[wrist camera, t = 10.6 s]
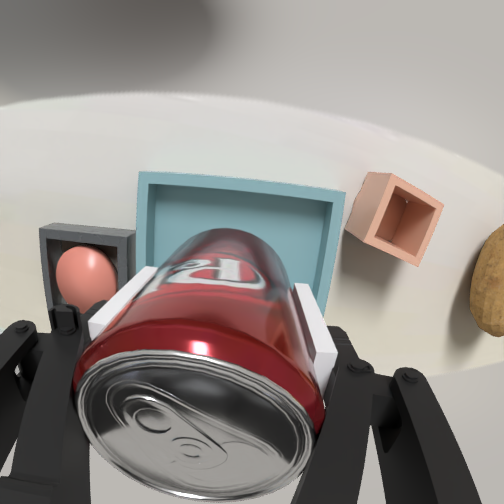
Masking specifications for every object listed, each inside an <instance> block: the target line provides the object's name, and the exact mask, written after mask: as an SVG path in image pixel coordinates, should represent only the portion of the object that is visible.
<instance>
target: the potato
mask: <svg viewBox="0 0 504 504" xmlns="http://www.w3.org/2000/svg"><path fill="white" fill-rule="evenodd" d="M470 311H471V312H472V314H473V316H474V318H475V320H476V322H477V324H478V327H479V328H481V329H482V330H484V331H485V332H487V333H489V334H490V335H492V336H495V337H501V336H504V224H503V225H502V226H501V227H499V228H498V229H497V230H495V231H494V232H493V233H492V234H491V235H490V236H489V238H488V239H487V240H486V242H485V244H484V246H483V248H482V250H481V252H480V255H479V258H478V260H477V263H476V266H475V269H474V273H473V276H472V282H471V290H470Z"/></svg>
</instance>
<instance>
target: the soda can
mask: <svg viewBox="0 0 504 504" xmlns="http://www.w3.org/2000/svg"><path fill="white" fill-rule="evenodd" d="M72 385H73V391H74V402H75V410H76V413H77V416H78V419H79V421H80V424H81V427H82V429H83V432H84V435H85V436H86V438H87V440H88V441H89V443H90V444H91V445H92V446H93V447H94V449H95V450H96V451H97V452H98V453H99V454H100V455H101V456H102V457H103V458H104V459H105V460H106V461H107V462H109V464H111V465H112V466H113V467H114V468H116V469H117V470H119V471H120V472H122V473H123V474H124V475H126V476H127V477H129V478H131V479H133V480H134V481H136V482H138V483H140V484H142V485H144V486H146V487H149V488H151V489H154V490H156V491H159V492H161V493H164V494H168V495H171V496H175V497H179V498H184V499H189V500H195V501H204V502H236V501H242V500H247V499H254V498H257V497H261V496H264V495H267V494H270V493H273V492H275V491H277V490H279V489H281V488H283V487H285V486H286V485H288V484H289V483H291V482H292V481H294V480H295V479H296V478H298V477H299V475H300V474H301V473H302V472H303V471H304V470H305V468H306V466H307V464H308V461H309V459H310V457H311V455H312V452H313V450H314V448H315V445H316V442H317V439H318V436H319V434H320V431H321V428H322V426H323V423H324V420H325V416H326V414H325V409H324V404H323V399H322V396H321V392H320V388H319V384H318V381H317V377H316V373H315V370H314V366H313V362H312V359H311V355H310V351H309V348H308V344H307V341H306V337H305V333H304V330H303V326H302V323H301V319H300V316H299V312H298V309H297V305H296V302H295V298H294V295H293V292H292V288H291V285H290V281H289V278H288V275H287V271H286V269H285V266H284V264H283V262H282V260H281V258H280V257H279V256H278V254H277V253H276V252H275V251H274V249H273V248H272V247H271V246H269V245H268V244H267V243H266V242H265V241H264V240H262V239H260V238H259V237H257V236H255V235H253V234H252V233H249V232H246V231H243V230H240V229H232V228H216V229H210V230H207V231H203V232H200V233H198V234H196V235H194V236H192V237H190V238H189V239H188V240H186V241H185V242H184V243H183V244H181V245H180V246H179V247H178V248H177V249H176V250H175V251H174V252H173V253H172V254H171V255H170V256H169V258H168V259H167V260H166V261H165V262H164V263H163V264H162V265H161V266H160V267H159V268H158V269H157V270H156V271H155V272H154V273H153V274H152V275H151V276H150V277H149V278H148V280H147V281H146V282H145V283H144V284H143V285H142V286H141V287H140V288H139V289H138V290H137V291H136V292H135V294H134V295H133V296H132V297H131V298H130V299H129V300H128V301H127V302H126V303H125V304H124V306H123V307H122V308H121V309H120V310H119V311H118V312H117V313H116V314H115V316H114V317H113V318H112V319H111V320H110V321H109V322H108V323H107V324H106V326H105V327H104V328H103V329H102V330H101V331H100V332H99V334H98V335H97V336H96V337H95V338H94V339H93V340H92V342H91V343H90V344H89V345H88V346H87V347H86V349H85V350H84V352H83V353H82V355H81V357H80V358H79V360H78V362H77V364H76V368H75V372H74V376H73V382H72Z"/></svg>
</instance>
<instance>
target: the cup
mask: <svg viewBox="0 0 504 504" xmlns="http://www.w3.org/2000/svg"><path fill="white" fill-rule="evenodd" d="M406 200H407V201H408V203H407V204H406ZM443 207H444V204H443V203H441V202H439V201H438V200H436V199H435V198H433V197H431V196H430V195H428V194H426V193H425V192H423V191H422V190H420V189H418V188H416V187H415V186H413V185H411V184H410V183H408V182H406V181H404V180H403V179H401V178H399V177H397V176H396V175H394V174H392V173H376V172H368V173H367V176H366V178H365V181H364V183H363V186H362V188H361V191H360V192H359V193H358V195H357V196H356V198H355V200H354V203H353V208H352V213H351V215H350V218H349V220H348V222H347V225H346V227H345V230H347V231H348V232H350V233H351V234H353V235H354V236H355V237H357V238H358V239H360V240H361V241H363V242H364V243H367V244H369V245H371V246H373V247H376V248H378V249H380V250H382V251H384V252H387V253H389V254H391V255H393V256H395V257H397V258H400V259H402V260H404V261H406V262H408V263H410V264H412V265H415V266H417V267H418V266H419V264H420V262H421V260H422V257H423V255H424V253H425V251H426V249H427V246H428V244H429V242H430V239H431V237H432V235H433V232H434V230H435V227H436V225H437V222H438V220H439V217H440V215H441V212H442V209H443ZM389 240H392V241H391V242H389Z"/></svg>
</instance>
